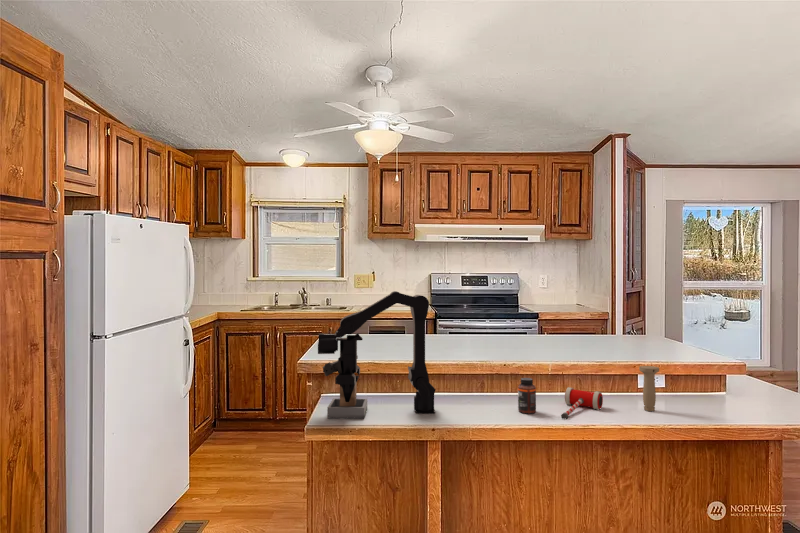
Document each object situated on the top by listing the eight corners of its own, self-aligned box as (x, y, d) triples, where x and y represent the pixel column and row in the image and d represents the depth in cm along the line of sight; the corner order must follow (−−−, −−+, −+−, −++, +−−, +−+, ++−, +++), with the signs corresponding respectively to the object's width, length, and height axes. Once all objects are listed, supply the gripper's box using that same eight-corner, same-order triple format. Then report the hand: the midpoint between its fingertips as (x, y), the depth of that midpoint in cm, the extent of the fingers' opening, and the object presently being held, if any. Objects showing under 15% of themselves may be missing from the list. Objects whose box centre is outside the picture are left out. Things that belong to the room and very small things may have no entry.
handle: (636, 409, 174) (636, 366, 174) (653, 408, 175) (652, 365, 175) (645, 412, 169) (645, 368, 169) (662, 412, 170) (662, 368, 170)
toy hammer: (581, 423, 158) (581, 403, 158) (546, 416, 166) (546, 397, 166) (603, 408, 176) (603, 390, 176) (570, 403, 183) (570, 385, 184)
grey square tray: (367, 408, 173) (367, 398, 173) (364, 418, 161) (364, 407, 161) (333, 408, 173) (333, 398, 173) (327, 418, 161) (327, 407, 161)
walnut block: (356, 402, 170) (356, 382, 170) (354, 406, 165) (354, 385, 165) (341, 402, 170) (341, 381, 170) (339, 406, 165) (339, 385, 165)
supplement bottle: (537, 410, 171) (537, 378, 171) (533, 415, 166) (533, 381, 166) (520, 408, 174) (520, 376, 174) (516, 412, 169) (516, 379, 169)
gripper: (329, 349, 177) (329, 393, 177) (319, 358, 158) (319, 407, 158) (360, 349, 177) (360, 393, 176) (354, 358, 158) (354, 407, 158)
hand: (348, 399), depth 167 cm, fingers closed on walnut block, 5 cm apart
